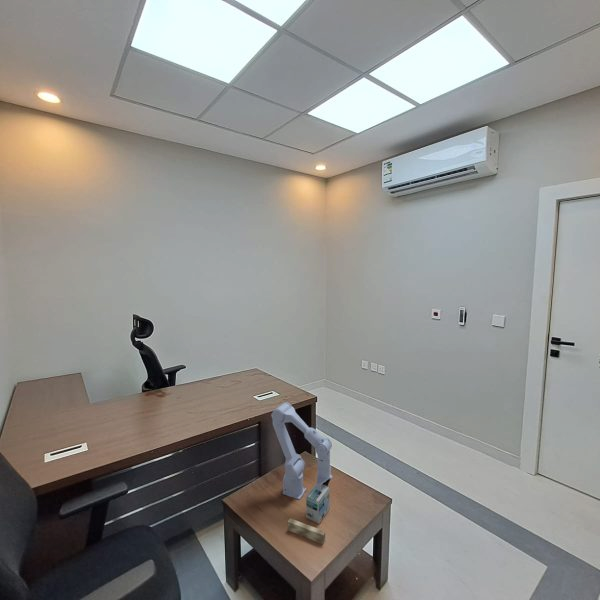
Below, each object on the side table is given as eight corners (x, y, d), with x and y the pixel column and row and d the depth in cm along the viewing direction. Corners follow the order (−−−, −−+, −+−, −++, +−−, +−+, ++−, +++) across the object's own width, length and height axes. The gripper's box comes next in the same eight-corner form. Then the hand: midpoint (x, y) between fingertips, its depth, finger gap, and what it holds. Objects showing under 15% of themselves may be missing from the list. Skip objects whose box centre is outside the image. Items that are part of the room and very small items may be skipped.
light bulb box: (319, 524, 136) (318, 501, 135) (305, 518, 140) (305, 495, 139) (330, 508, 145) (330, 486, 144) (317, 502, 149) (317, 481, 148)
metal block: (288, 530, 134) (287, 521, 133) (290, 526, 135) (290, 518, 135) (323, 544, 127) (323, 535, 126) (325, 540, 129) (325, 531, 128)
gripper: (326, 477, 139) (326, 506, 140) (337, 459, 152) (337, 485, 153) (311, 473, 142) (312, 501, 143) (323, 455, 155) (323, 481, 156)
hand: (324, 492), depth 148 cm, fingers closed
